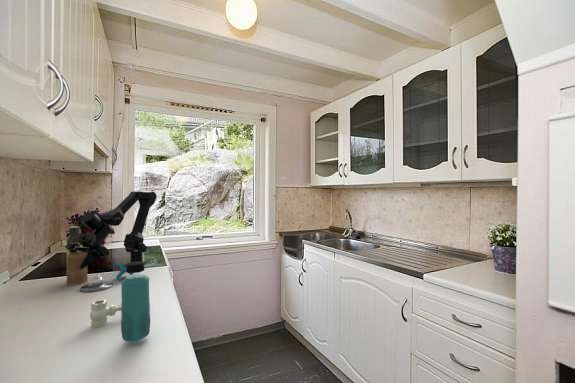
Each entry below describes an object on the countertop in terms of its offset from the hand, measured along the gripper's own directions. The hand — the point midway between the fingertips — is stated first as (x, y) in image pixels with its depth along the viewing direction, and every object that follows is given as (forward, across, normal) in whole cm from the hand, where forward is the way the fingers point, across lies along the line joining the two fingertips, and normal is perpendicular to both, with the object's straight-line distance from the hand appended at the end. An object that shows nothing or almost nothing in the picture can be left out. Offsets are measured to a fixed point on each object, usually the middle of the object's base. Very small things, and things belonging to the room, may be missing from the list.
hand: (73, 267), depth 114 cm
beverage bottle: (+25, +59, -16) cm, 66 cm away
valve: (+20, +44, -10) cm, 49 cm away
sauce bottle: (-9, -26, +19) cm, 33 cm away
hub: (+5, +13, +4) cm, 15 cm away
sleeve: (+4, 0, +6) cm, 7 cm away
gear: (-3, +14, +13) cm, 19 cm away
